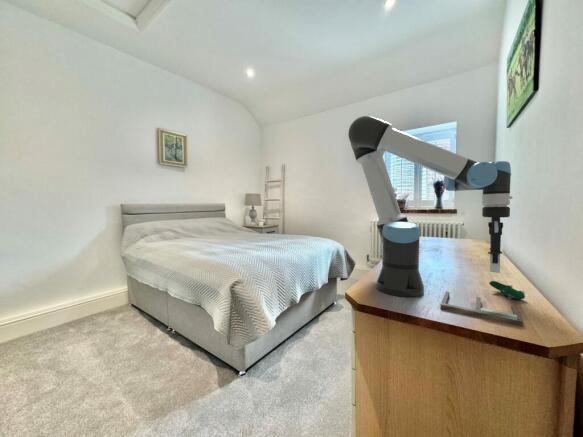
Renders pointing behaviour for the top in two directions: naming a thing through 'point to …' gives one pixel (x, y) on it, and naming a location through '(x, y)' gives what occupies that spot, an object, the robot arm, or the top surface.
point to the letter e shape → (485, 312)
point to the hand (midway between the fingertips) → (494, 271)
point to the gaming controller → (508, 290)
